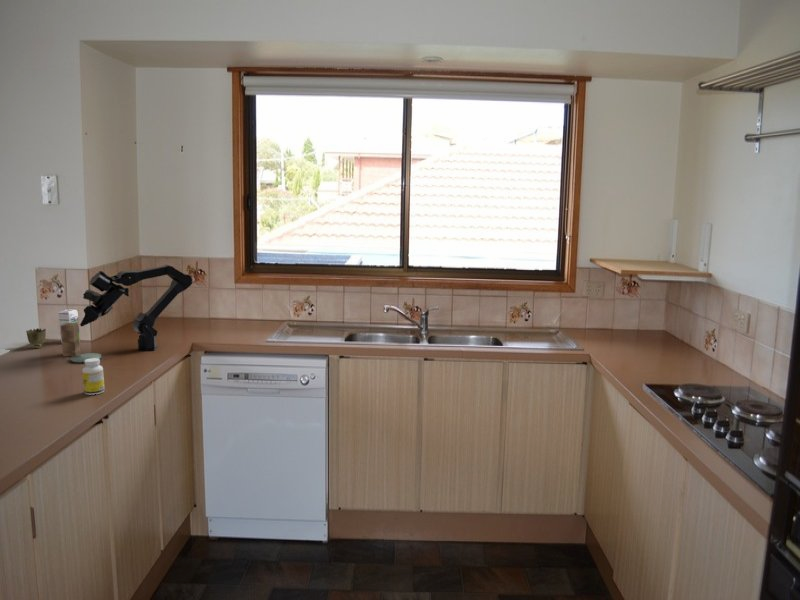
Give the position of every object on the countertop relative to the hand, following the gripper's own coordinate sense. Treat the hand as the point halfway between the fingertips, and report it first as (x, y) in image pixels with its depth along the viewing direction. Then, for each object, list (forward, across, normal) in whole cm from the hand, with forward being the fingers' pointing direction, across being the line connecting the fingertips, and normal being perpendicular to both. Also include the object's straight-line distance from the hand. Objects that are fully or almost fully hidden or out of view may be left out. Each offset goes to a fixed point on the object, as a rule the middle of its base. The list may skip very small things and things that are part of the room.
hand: (84, 323), depth 276 cm
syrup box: (+20, -23, -1) cm, 31 cm away
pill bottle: (-5, +53, +24) cm, 58 cm away
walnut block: (+14, 0, +5) cm, 15 cm away
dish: (+7, +9, +11) cm, 16 cm away
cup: (+27, -13, -8) cm, 31 cm away
